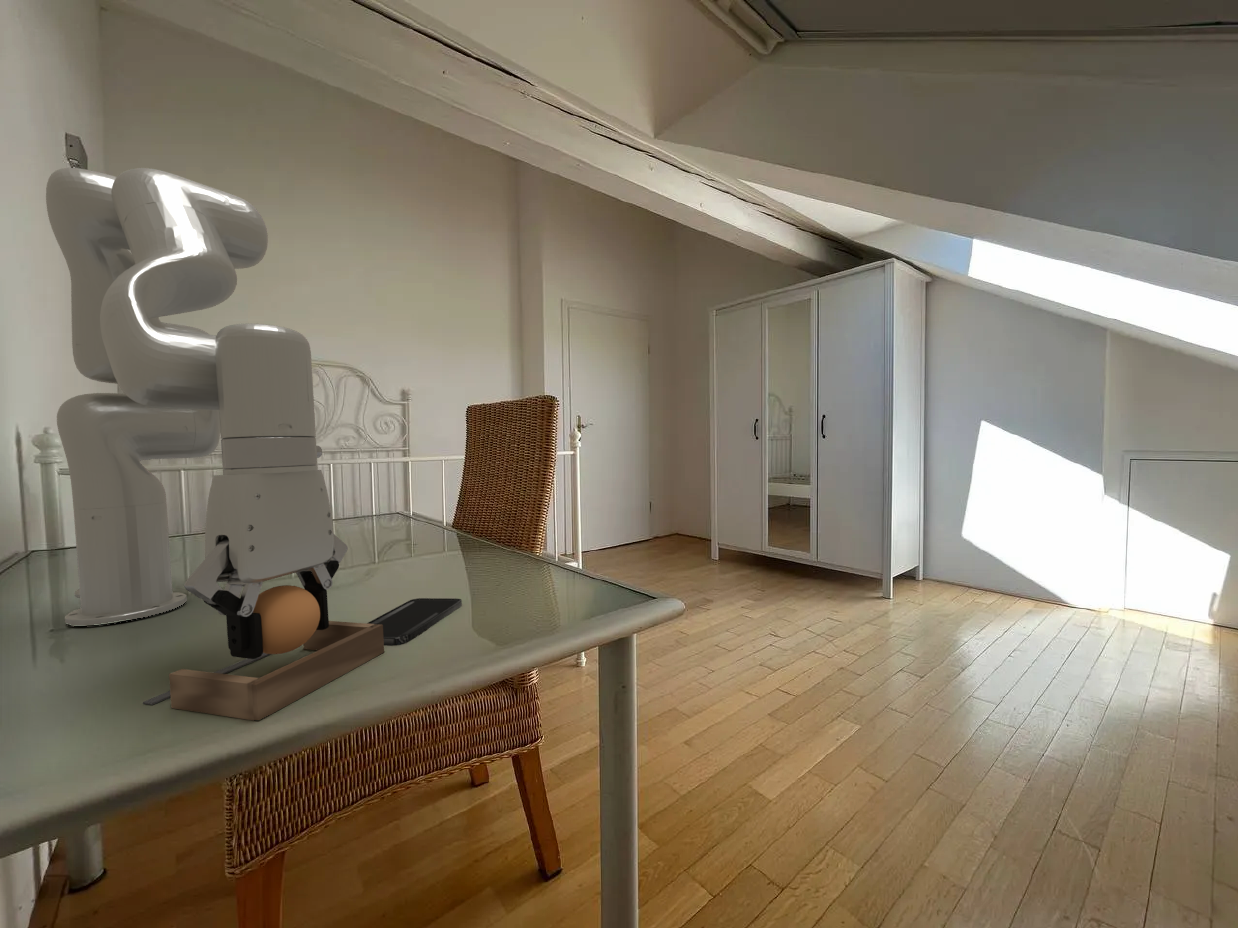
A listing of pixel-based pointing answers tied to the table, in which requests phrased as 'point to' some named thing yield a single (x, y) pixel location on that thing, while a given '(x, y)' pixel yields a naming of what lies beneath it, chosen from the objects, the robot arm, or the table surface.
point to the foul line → (222, 671)
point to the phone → (414, 618)
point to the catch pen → (279, 675)
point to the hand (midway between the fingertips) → (282, 639)
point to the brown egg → (286, 618)
